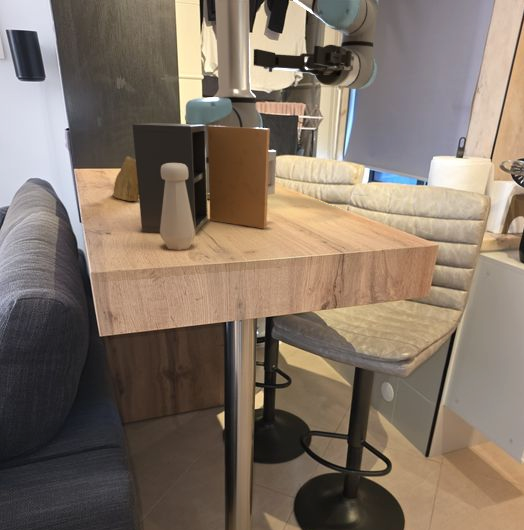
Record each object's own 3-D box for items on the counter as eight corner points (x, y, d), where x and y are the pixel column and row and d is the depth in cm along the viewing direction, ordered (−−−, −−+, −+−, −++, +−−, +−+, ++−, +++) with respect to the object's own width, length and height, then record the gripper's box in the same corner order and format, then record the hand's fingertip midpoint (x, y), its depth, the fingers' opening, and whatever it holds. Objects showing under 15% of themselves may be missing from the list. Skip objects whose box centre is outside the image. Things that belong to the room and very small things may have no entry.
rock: (148, 193, 110) (154, 181, 118) (122, 162, 105) (130, 152, 113) (116, 219, 113) (123, 206, 121) (89, 190, 108) (99, 179, 116)
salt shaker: (165, 252, 73) (158, 165, 67) (157, 243, 77) (151, 161, 71) (200, 249, 75) (197, 165, 69) (190, 241, 80) (187, 161, 74)
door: (227, 214, 100) (227, 125, 92) (279, 222, 95) (284, 128, 86) (209, 219, 95) (207, 125, 87) (264, 228, 89) (267, 128, 81)
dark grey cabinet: (207, 220, 95) (205, 124, 87) (195, 234, 84) (190, 126, 76) (161, 217, 96) (154, 122, 88) (142, 232, 84) (132, 124, 76)
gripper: (386, 85, 97) (341, 78, 81) (287, 86, 109) (232, 79, 94) (392, 43, 93) (346, 27, 78) (289, 49, 106) (232, 35, 90)
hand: (284, 56), depth 86 cm, fingers open, 13 cm apart
